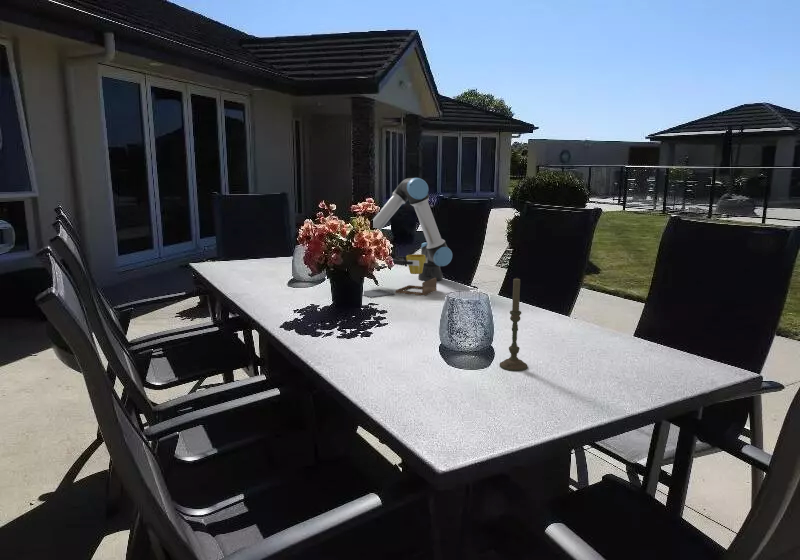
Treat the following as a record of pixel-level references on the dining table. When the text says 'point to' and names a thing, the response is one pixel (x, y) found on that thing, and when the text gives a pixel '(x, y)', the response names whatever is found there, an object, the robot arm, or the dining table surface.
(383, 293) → the mat
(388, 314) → the dining table surface
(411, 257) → the plant pot
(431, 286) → the dock
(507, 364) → the candlestick holder
